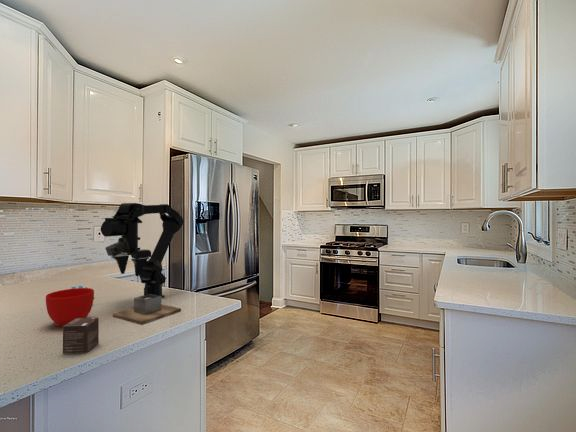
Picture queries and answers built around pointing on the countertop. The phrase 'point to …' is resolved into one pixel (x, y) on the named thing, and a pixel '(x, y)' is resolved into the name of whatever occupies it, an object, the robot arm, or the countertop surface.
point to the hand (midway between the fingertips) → (129, 274)
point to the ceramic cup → (69, 304)
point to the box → (80, 335)
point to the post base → (142, 318)
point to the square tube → (147, 304)
